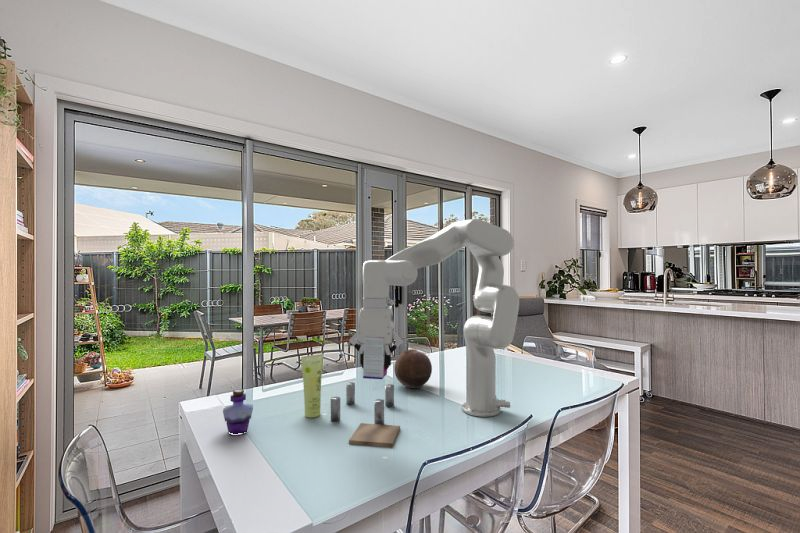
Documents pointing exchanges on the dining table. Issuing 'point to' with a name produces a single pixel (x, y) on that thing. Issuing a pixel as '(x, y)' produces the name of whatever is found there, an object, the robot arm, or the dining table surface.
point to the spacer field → (351, 400)
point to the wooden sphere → (413, 368)
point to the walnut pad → (375, 435)
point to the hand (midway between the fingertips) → (375, 367)
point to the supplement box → (374, 358)
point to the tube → (312, 384)
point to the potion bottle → (238, 413)
